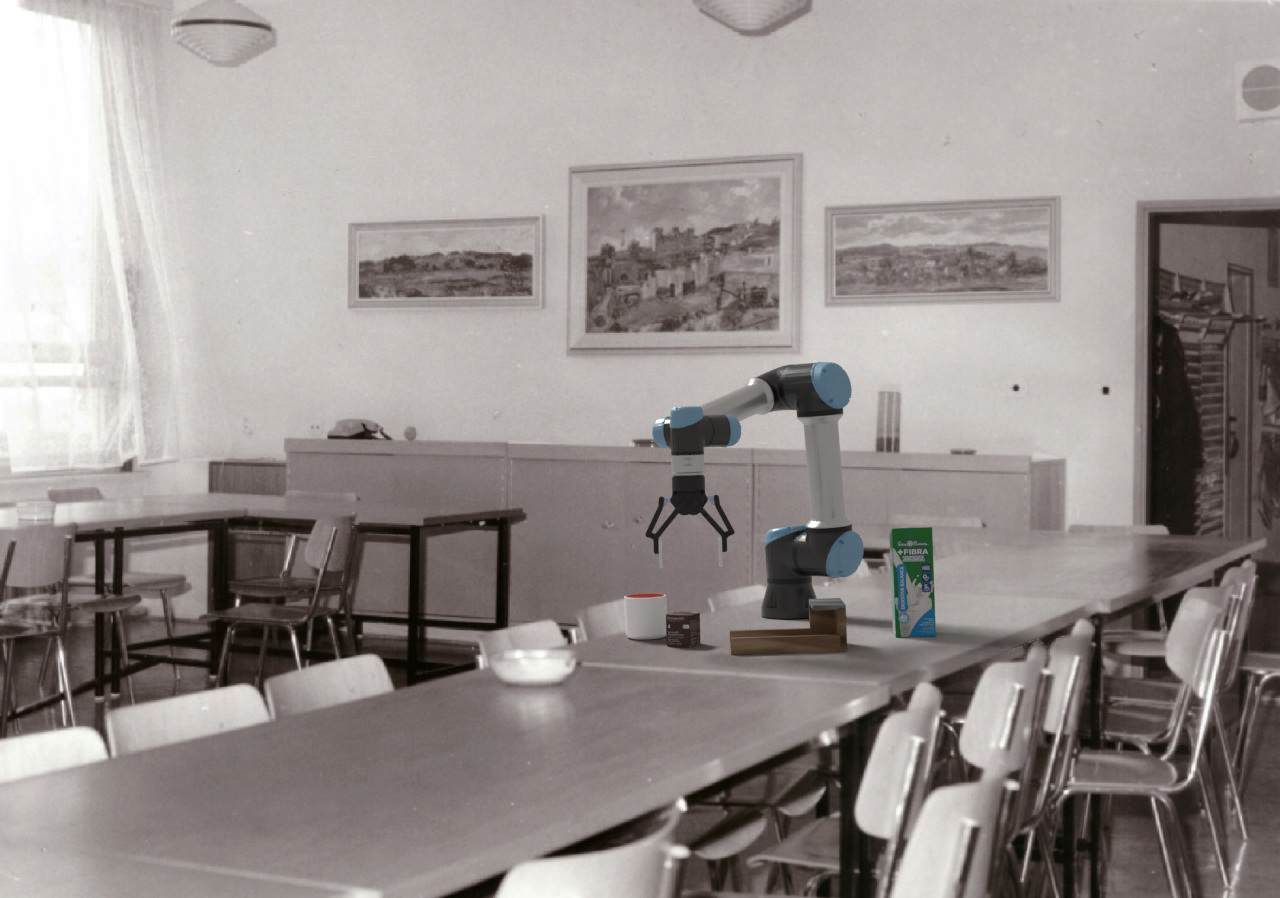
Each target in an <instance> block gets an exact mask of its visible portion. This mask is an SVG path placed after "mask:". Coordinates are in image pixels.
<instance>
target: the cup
mask: <svg viewBox="0 0 1280 898" xmlns="http://www.w3.org/2000/svg"><path fill="white" fill-rule="evenodd" d="M623 600H624V624H625V625H624V627H625V635H626V637H627V638H629V639H630V640H639V641H647V640H648V641H649V640H650V641H651V640H658V639H663V638H664V637H665V636H666V614H668V607H667V606H668V605H667V602H668V601H667V594H664V593H657V592H655V593H651V592H649V593H648V592H646V593H635V594H633V593H632V594H626V595H624V597H623Z"/></svg>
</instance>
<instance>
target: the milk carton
mask: <svg viewBox="0 0 1280 898" xmlns="http://www.w3.org/2000/svg"><path fill="white" fill-rule="evenodd" d="M933 542H934V540H933V526H929V527H928V526H926V527H925V526H924V527H923V526H922V527H919V526H916V525H905V526H901V527H898V528H897V527H893V528H892V529H891V531H890V534H889V555H890V556H889V558H890V561H889V562H890V564H889V565H890V588H891V589H890V590H891V591H890V592H891V615H892V617H891V618H892V633H893V634H894V636H895V638H922V637H923V638H925V637H927V638H929V637H933V638H935V637H936V636H937V631H936V630H937V629H936V625H937V624H936V603H935V602H936V601H935V600H936V598H935V597H936V596H935V574H934V569H935V568H934V543H933Z"/></svg>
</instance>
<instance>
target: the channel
mask: <svg viewBox="0 0 1280 898" xmlns="http://www.w3.org/2000/svg"><path fill="white" fill-rule="evenodd" d="M846 605H847V604H846V603H845V602H844V601H843V600H842V599H841V597H836V598H835V597H832V598H831V597H829V598H817V599H809V617H808V619H809V620H808V621H809V627H796V628H795V627H794V628H793V627H792V628H763V629H761V628H760V629H731V630H729V648H730V654H731V655H733V656H734V655H766V654H767V655H768V654H771V655H772V654H799V653H800V654H802V653H807V654H808V653H833V652H834V653H837V652H841V653H842V652H848V637H847V636H848V634H847V632H848V631H847V606H846Z"/></svg>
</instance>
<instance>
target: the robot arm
mask: <svg viewBox="0 0 1280 898" xmlns="http://www.w3.org/2000/svg"><path fill="white" fill-rule="evenodd" d="M852 390H853V389H852V383H851V380H850V377H849V375H848V373H847V372H846V370H845V369H844V368H843V367H842V365H840V364H838V363H836V362H833V361H831V362H830V361H817V362H810V363H797V364H796V363H795V364H785V365H781V366H779V367H775V368H773V369H771V370H769V371H767V372H765V373H762V374H760V375H758V376H756V377H755V376H754V377H753V378H751V379H749V380H748V381H746V383H745V384H744V386H743V387H740V388H738V389H735V390H733V391H731V392H728V393H726V394H723V395H722V396H719V397H717V398H714V399H711V400H709V401H707V402H705V403H703V404H701V405H698V406H697V405H696V406H695V405H694V406H693V405H692V406H689V405H688V406H675V407H672V409H671V410H670V413H669V414H670V415H669V416H664V417H660V418H658V419H656V421H655V422H654V424H653V425H652V432H651V434H652V438H653V442H654V443H655V444H656V446H658V447H659V448H661V449H669V450H670V459H671V460H670V462H671V467H670V468H671V473H672V474H673V476H672V477H671V496H670V497H667V496H663V495H661V496H659V498H658V502H657V504H658V505H657V508H656V510H655V511H654V514H653V517H652V519H651V521H650V523H649V525H648V527H647V529H646V531H645V537H646V538H648V539H652V541H653V553H654V555H658V569H659V570H663V569H664V565H663V561H664V560H663V539H659V538H660V537H661V536H662V535H663V533H665V532H666V530H667V529H668V527H669V526H670V525H671V524H672V522H673V521H674V520H675V519H676V518H677V516H678V515H680V516H697V515H699V514H700V515H702V517H703V518H704V519H705V520H706V521H707V522H708V523H709V524H710V525H711V526H712V528H714V529H713V530H715V531H716V532H717V534H719V535H720V537H718V541H717V542H718V544H717V545H718V567H719V568H723V567H724V565H723V553H727V551H728V537H730V536H733V535H734V534H735V529H734V528H733V526H732V524H731V523H730V520H729V519H728V516H727V515H726V513H725V511H724V510H723V508H722V506H721V503H720V496H719V495H718V494H714V495H709V496H707V494H706V477H705V475H704V474H703V473H705V448H728V447H733V446H735V445H736V444H738V442H739V441H740V439H741V437H742V425H741V423H740V422H741V421H744V420H746V419H748V418H750V417H753V416H755V415H760V416H761V415H762V416H764V415H767V414H769V413H773V412H779V411H780V412H781V411H796V419H797V420H798V421H800V422H801V424H802V425H803V433H804V446H805V447H804V448H805V458H806V459H805V460H806V473H807V485H808V495H809V496H808V497H809V512H810V520H808V522H807V523H806V524H801V525H793V526H785V527H778V528H772V529H769V530H768V531H767V532H766V534H765V544H764V547H765V568H766V590H765V592H764V595H763V600H762V604H761V607H760V608H761V609H760V610H761V611H760V613H761V617H762V618H767V619H780V620H781V619H783V620H787V619H788V620H791V619H792V620H793V619H805V618H806V619H807V618H808V619H809V599H818V597H817V594H816V592H815V589H814V587H813V577H823V578H824V577H825V578H831V579H838V578H849V577H850V576H852V575H854V573H856V571H857V570H858V569H859V567H860V566H861V563H862V561H863V557H864V551H865V550H864V541H863V539H862V537H861V536H860V534H859V533H857V532H856V531H853V523H852V521H851V520H850V519H849V518H848V517H846V512H845V511H846V509H845V508H846V507H845V498H844V497H845V496H844V484H843V468H842V456H841V445H840V433H839V421H840V419H841V418H842V417H843V416H844V408H845V407H846V406H848V404H849V403H850V401H851V400H850V399H851V397H852ZM708 502H710V504H711V506H715V509H716V512H717V513H718V514H719V516H720V519H721V520H722V523H723V524H724V525H725V527H726V531H725V530H724V529H723V527H721V526H720V525H719V524H718V522H717V521H716V520H715V519H714V518H713V517H712V516H711V515H710V514H709V512H708V511H707V510H706V509H705V508H704V507H705V506H706V504H707V503H708ZM668 503H670V504H671V505H672V506H673V508H674V509H673V511H672V512H671V513H670V514H669V516H668V517H667V518H666V519H665V520H664V522H663V523H662V525H661V526H660V527H659V528H658V529H657V531H656V532H655V533H654V532H653V531H654V529H655V527H656V525H657V523H658V520H659V518H660V515H661V514H662V511H663V508H664V507H667V505H668Z"/></svg>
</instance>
